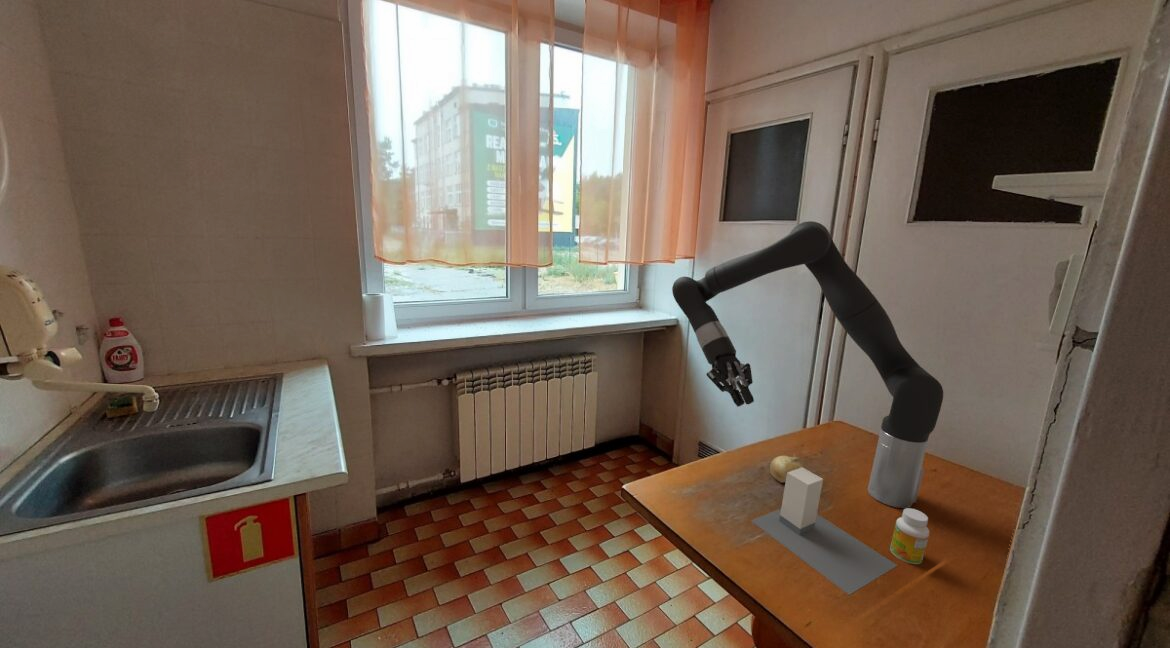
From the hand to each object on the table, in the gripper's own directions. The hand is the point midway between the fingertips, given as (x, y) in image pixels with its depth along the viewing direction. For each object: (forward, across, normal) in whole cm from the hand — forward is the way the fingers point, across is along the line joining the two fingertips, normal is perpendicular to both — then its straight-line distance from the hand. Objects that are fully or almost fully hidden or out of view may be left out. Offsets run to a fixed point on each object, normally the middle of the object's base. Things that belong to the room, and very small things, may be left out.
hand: (745, 403), depth 106 cm
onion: (+19, +14, +13) cm, 27 cm away
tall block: (+28, 0, +3) cm, 28 cm away
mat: (+32, 0, -1) cm, 32 cm away
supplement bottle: (+39, +13, -8) cm, 42 cm away
